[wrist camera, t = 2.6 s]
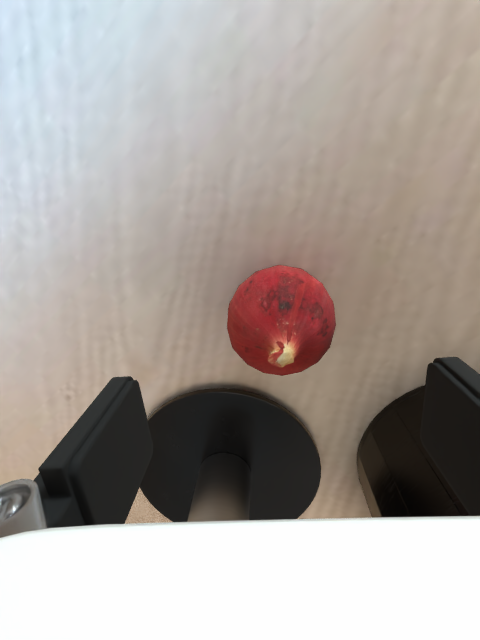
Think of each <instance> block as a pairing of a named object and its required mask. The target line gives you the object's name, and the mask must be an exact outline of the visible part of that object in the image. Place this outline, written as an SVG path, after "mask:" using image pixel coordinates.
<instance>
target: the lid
mask: <svg viewBox="0 0 480 640" xmlns="http://www.w3.org/2000/svg"><path fill="white" fill-rule="evenodd" d="M147 421H148V425H149V430H150V434H151V438H152V443H153V455H152V458H151V460H150V463H149V465H148V467H147V470H146V472H145V475H144V477H143V480H142V482H141V485H140V488H141V490H142V492H143V494H144V495H145V497H146V498H147V499H148V500H149V502H150V503H151V504H152V505H153V506H154V507H155V508H156V509H157V510H158V511H159V512H160V513H162V514H163V515H164V516H165V517H167V518H168V519H170V520H171V521H173V522H205V521H240V520H283V519H297V518H298V517H299V516H300V515H301V514H302V513H303V512H304V511H305V510H306V509H307V508H308V507H309V505H310V504H311V502H312V501H313V499H314V497H315V495H316V492H317V490H318V487H319V483H320V478H321V465H320V458H319V453H318V450H317V447H316V444H315V442H314V440H313V438H312V436H311V434H310V433H309V431H308V430H307V429H306V427H305V426H304V425H303V424H302V423H301V421H300V420H299V419H298V418H297V417H296V416H295V415H293V414H292V413H291V412H290V411H288V410H287V409H286V408H284V407H283V406H281V405H279V404H278V403H276V402H274V401H272V400H270V399H268V398H266V397H263V396H260V395H257V394H254V393H251V392H247V391H242V390H236V389H225V388H220V389H205V390H198V391H194V392H190V393H186V394H184V395H181V396H179V397H176V398H174V399H172V400H171V401H169V402H167V403H165V404H164V405H162V406H161V407H160V408H159V409H157V410H156V411H155V412H154V413H153V414H152V415H151V416H150V417H149V418H148V419H147Z"/></svg>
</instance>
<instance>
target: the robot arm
mask: <svg viewBox="0 0 480 640" xmlns="http://www.w3.org/2000/svg"><path fill="white" fill-rule="evenodd" d="M420 439H421V442H422V445H423V447H424V448H425V450H426V451H427V453H428V454H429V456H430V457H431V458H432V460H433V461H434V463H435V464H436V466H437V467H438V469H439V470H440V472H441V473H442V475H443V476H444V478H445V479H446V481H447V482H448V484H449V485H450V487H451V488H452V490H453V491H454V493H455V494H456V496H457V497H458V499H459V500H460V502H461V503H462V505H463V506H464V508H465V509H466V511H467V512H468V514H469V515H470V516H442V517H380V518H329V519H283V520H240V521H205V522H170V523H136V524H124V523H125V521H126V519H127V516H128V514H129V511H130V509H131V506H132V504H133V502H134V499H135V497H136V494H137V492H138V489H139V487H140V485H141V482H142V480H143V477H144V475H145V472H146V470H147V467H148V465H149V463H150V460H151V458H152V455H153V443H152V438H151V434H150V430H149V425H148V421H147V417H146V412H145V408H144V404H143V399H142V395H141V391H140V387H139V383H138V381H137V380H133V378H132V377H131V376H128V377H113V378H112V379H111V380H110V381H109V383H108V384H107V385H106V386H105V388H104V389H103V390H102V391H101V392H100V394H99V395H98V396H97V397H96V399H95V400H94V401H93V402H92V404H91V405H90V406H89V407H88V408H87V410H86V411H85V412H84V413H83V415H82V416H81V417H80V418H79V419H78V421H77V422H76V423H75V424H74V426H73V427H72V428H71V429H70V431H69V432H68V433H67V434H66V435H65V437H64V438H63V439H62V440H61V442H60V443H59V444H58V445H57V447H56V448H55V449H54V450H53V451H52V453H51V454H50V455H49V456H48V458H47V459H46V460H45V461H44V463H43V464H42V465H41V466H40V467H39V472H40V473H39V474H38V476H37V477H36V478H35V479H34V481H32V480H30V479H19V480H14V481H11V482H8V483H6V484H3V485H1V486H0V640H480V374H478V373H477V372H476V371H475V370H473V369H472V368H471V367H469V366H468V365H467V364H466V363H464V362H463V361H462V360H461V359H459V358H457V357H446V358H436V359H434V361H433V363H430V364H429V365H428V368H427V376H426V385H425V393H424V402H423V411H422V419H421V428H420Z"/></svg>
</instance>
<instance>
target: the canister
mask: <svg viewBox="0 0 480 640" xmlns="http://www.w3.org/2000/svg"><path fill="white" fill-rule="evenodd" d="M424 393H425V386H422V387H419V388H417V389H415V390H413V391H410V392H408V393H406V394H404V395H403V396H401V397H399V398H398V399H396V400H394V401H393V402H392V403H391V404H389V405H388V406H387V407H385V408H384V409H383V410H382V411H381V412H380V413H379V414H378V415H377V416H376V417H375V418H374V420H373V421H372V422H371V423H370V425H369V426H368V428H367V429H366V431H365V433H364V435H363V437H362V439H361V442H360V445H359V449H358V455H357V467H358V473H359V481H360V484H361V486H362V489H363V492H364V495H365V498H366V501H367V504H368V507H369V510H370V513H371V516H372V518H380V517H442V516H470V515H469V514H468V512H467V511H466V509H465V508H464V506H463V505H462V503H461V502H460V500H459V499H458V497H457V496H456V494H455V493H454V491H453V490H452V488H451V487H450V485H449V484H448V482H447V481H446V479H445V478H444V476H443V475H442V473H441V472H440V470H439V469H438V467H437V466H436V464H435V463H434V461H433V460H432V458H431V457H430V456H429V454H428V453H427V451H426V450H425V448H424V447H423V445H422V442H421V439H420V428H421V419H422V411H423V402H424Z"/></svg>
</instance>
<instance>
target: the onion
mask: <svg viewBox="0 0 480 640" xmlns="http://www.w3.org/2000/svg"><path fill="white" fill-rule="evenodd" d="M335 326H336V322H335V312H334V304H333V301H332V299H331V298H330V296H329V294H328V293H327V291H326V289H325V288H324V286H323V284H322V283H321V282H319V281H318V280H316V279H315V278H314V277H312V276H311V275H309V274H308V273H307V272H305V271H304V270H302V269H300V268H294V267H288V266H282V265H277V266H273V267H270V268H266V269H263V270H260V271H257V272H255V273H254V274H253V275H251V276H250V277H249V278H248V279H247V280H245V281H244V282H243V283H242V284H241V285H240V286H239V287H238V289H237V291H236V292H235V294H234V296H233V298H232V300H231V302H230V304H229V308H228V322H227V329H228V333H229V337H230V341H231V345H232V348H233V349H234V350H235V352H236V353H237V354H238V355H239V356H240V357H241V358H242V359H243V360H244V361H245V362H246V363H247V364H248V365H250V366H252V367H254V368H255V369H257V370H259V371H261V372H263V373H268V374H275V375H281V376H283V375H288V374H293V373H298V372H301V371H303V370H305V369H307V368H308V367H310V366H312V365H314V364H316V363H317V362H318V361H319V360H320V359H321V358H322V356H323V355H324V354H325V353H326V351H327V350H328V349H329V348H330V345H331V341H332V338H333V334H334V330H335Z"/></svg>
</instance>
